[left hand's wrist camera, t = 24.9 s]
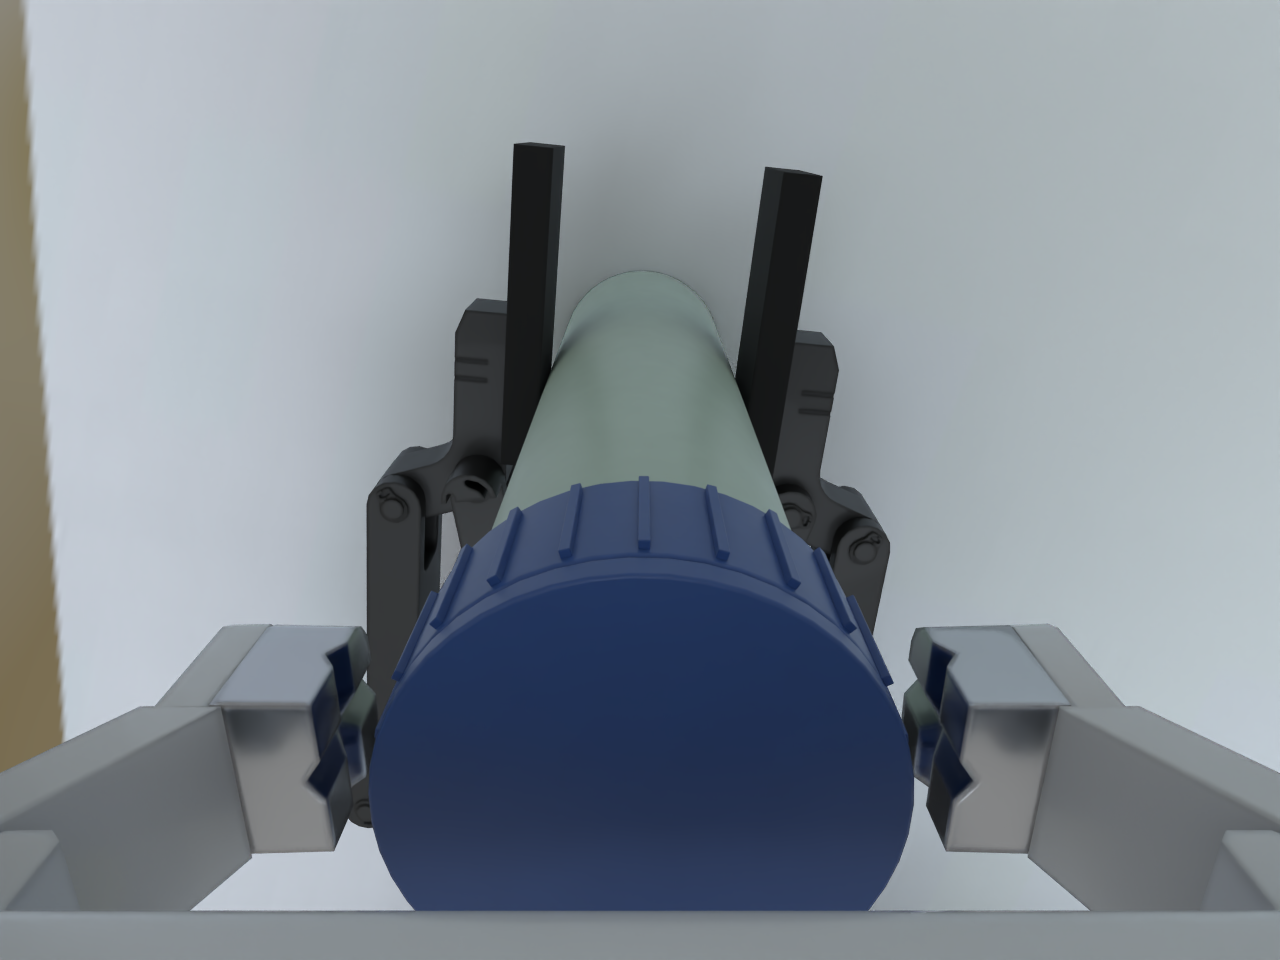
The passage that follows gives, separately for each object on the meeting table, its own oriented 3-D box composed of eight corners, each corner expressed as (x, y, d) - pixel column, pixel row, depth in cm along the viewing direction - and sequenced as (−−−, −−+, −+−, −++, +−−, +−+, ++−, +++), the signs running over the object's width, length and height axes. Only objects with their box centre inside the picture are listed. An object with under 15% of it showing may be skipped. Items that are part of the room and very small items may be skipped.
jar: (624, 238, 24) (589, 472, 8) (748, 332, 25) (948, 715, 9) (535, 363, 26) (344, 788, 9) (656, 448, 27) (680, 970, 10)
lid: (948, 561, 10) (1029, 675, 8) (761, 899, 11) (785, 1061, 9) (489, 402, 9) (447, 482, 7) (368, 788, 11) (306, 939, 9)
